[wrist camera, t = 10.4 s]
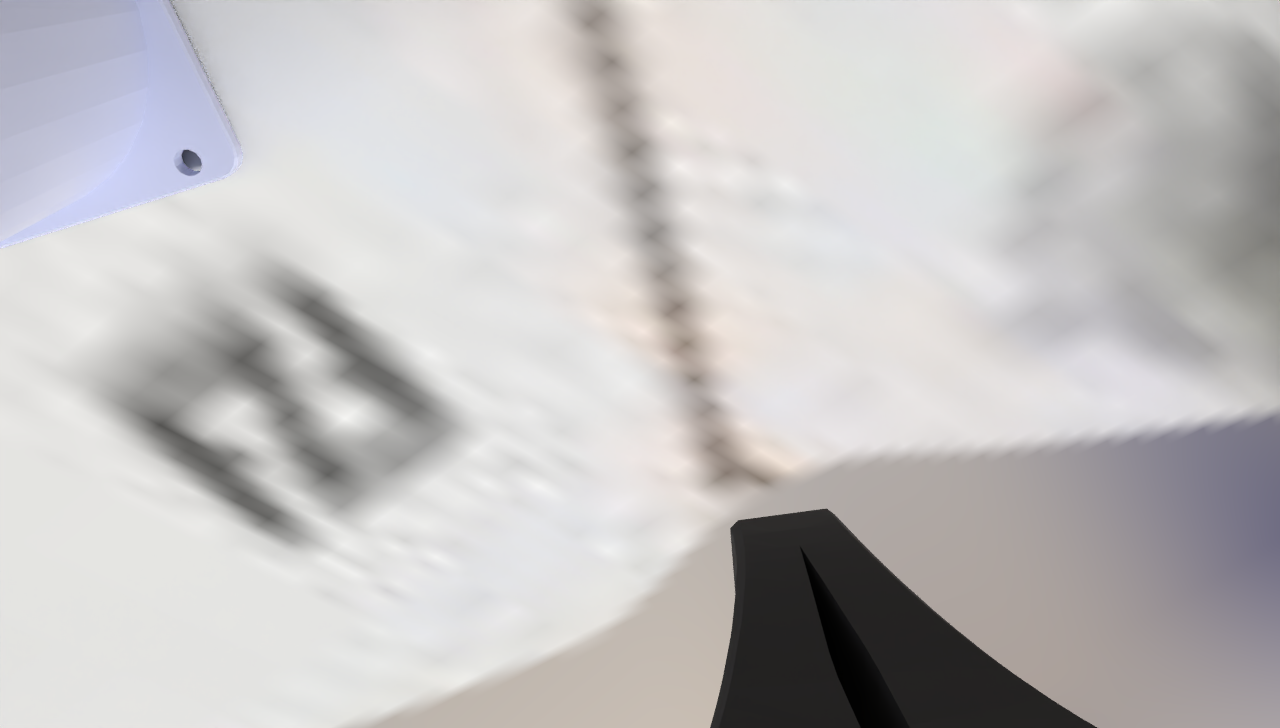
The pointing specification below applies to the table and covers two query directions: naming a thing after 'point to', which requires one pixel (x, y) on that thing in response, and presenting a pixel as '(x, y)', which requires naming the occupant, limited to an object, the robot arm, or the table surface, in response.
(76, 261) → the table surface
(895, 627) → the robot arm
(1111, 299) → the table surface
